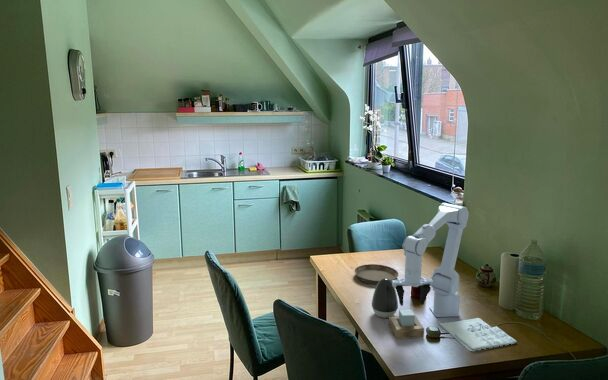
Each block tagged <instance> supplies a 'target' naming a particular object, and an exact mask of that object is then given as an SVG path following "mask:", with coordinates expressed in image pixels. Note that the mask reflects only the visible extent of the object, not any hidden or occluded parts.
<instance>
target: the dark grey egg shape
mask: <svg viewBox="0 0 608 380" xmlns="http://www.w3.org/2000/svg"><path fill="white" fill-rule="evenodd" d="M398 301H399V299H398V294H397V291H396V288H395V287H393V286H392V281H391V280H390V279H387V278H383V279H381V280H380V281H379V282H378V284H377V285H376V286H375V287H374V291H373V295H372V301H371V307H372V310H373V312H374V313H375V315H377V316H378V317H379V318H384V319H385V318H386V319H387V318H389V316H395V314H396V313H397V310H398V309H399V303H398Z"/></svg>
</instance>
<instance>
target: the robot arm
mask: <svg viewBox="0 0 608 380" xmlns="http://www.w3.org/2000/svg"><path fill="white" fill-rule="evenodd" d="M469 216H470V212H469V210H468V207H466V206H461V205H457V204H451V203H447V202H442V203H441V204H440V205H439V206H438V208H437V213H436V215H435V216H434V217H433V218H432V219H431V220H430V222H429V223H428V224H427V223H424V224H423V225H422V226H421V227H419V228H418V229H417V231H415V232H414V233H413V234H412V235H408V236H406V237H405V238H404V240H403V243H402V247H401V248H402V249H403V255H404V257H405V261H404V263H405V264H404V278H400V279H395V280H392V286H393V287H395V290H396V294H397V298H398V301H399V303H398V304H399V305H400V307H403V306H404V294H405V289H404V287H413V288H419V295H420V296H419V303H420V305H422V306H423V305H424V304H425V300H426V298H427V296H428V295H429V293H430V292H431V288H432V291H434V293H433V295H434V296H433V306H429V309H430V311H431V312H432V313H433V314H434V315H435V317H436V318H449V317H451V318H452V317H460V315H461V314H460V304H461V298H460V294H459V291H458V290H459V288H460V275H459V274H458V272H457V271H456V270H455V267H456V262H457V259H458V253H459V248H460V246H461V245H460V244H461V240H462V235H463V231H464V229H465V228H467V224H468V220H469ZM445 224H446V225H447V226H448V231H447V236H446V241H445V245H444V250H443V254H442V258H441V263H440V266H439V267H436V268H435V269H434V270H433V273H432V275H431V277H430V278H423V277H422V262H423V255H424V254H425V252H426V249H427V248H428V244H429V243H430V242H431V241H432V240H433V239H434V238H435V237H436V234H437V231H438V230H439V229H440V228H441V227H443V225H445Z"/></svg>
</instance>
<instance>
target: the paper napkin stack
mask: <svg viewBox="0 0 608 380" xmlns="http://www.w3.org/2000/svg"><path fill="white" fill-rule="evenodd" d="M438 325H439V327H440V328H442V329H444V331H446V332H447V333H449V335H451V336H452V337H453V338H454V339H455V340H456V341H458V342H459V343H460V344H461V345H462V346H463V347H464V346H465V347H464V348H465V349H466V350H467V351H468V352H470V351H472V352H477V351H476V350H478V351H482V350H481V349H484V350H487V349H486V348H489V349H493V347H494V348H499V346H500V347H503V345H505V346H509V344H511V345H514V344H516V343H517V340H516V339H515V338H513V337H512V336H510V335H509V334H507V333H506V332H505V331H504V330H502V329H501V328H499V327H498V325H496V326H492V325H489V323H486V321H483V319H482V318H479V317H475V318H471V319H463V320H458V321H450V322H439V324H438Z"/></svg>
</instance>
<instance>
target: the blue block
mask: <svg viewBox="0 0 608 380" xmlns="http://www.w3.org/2000/svg"><path fill="white" fill-rule="evenodd" d="M398 316H399V324H400V326H401V327H403V326H414V321H415V316H416V315H415V313H414V311H413V310H412V309H399V310H398Z"/></svg>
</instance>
